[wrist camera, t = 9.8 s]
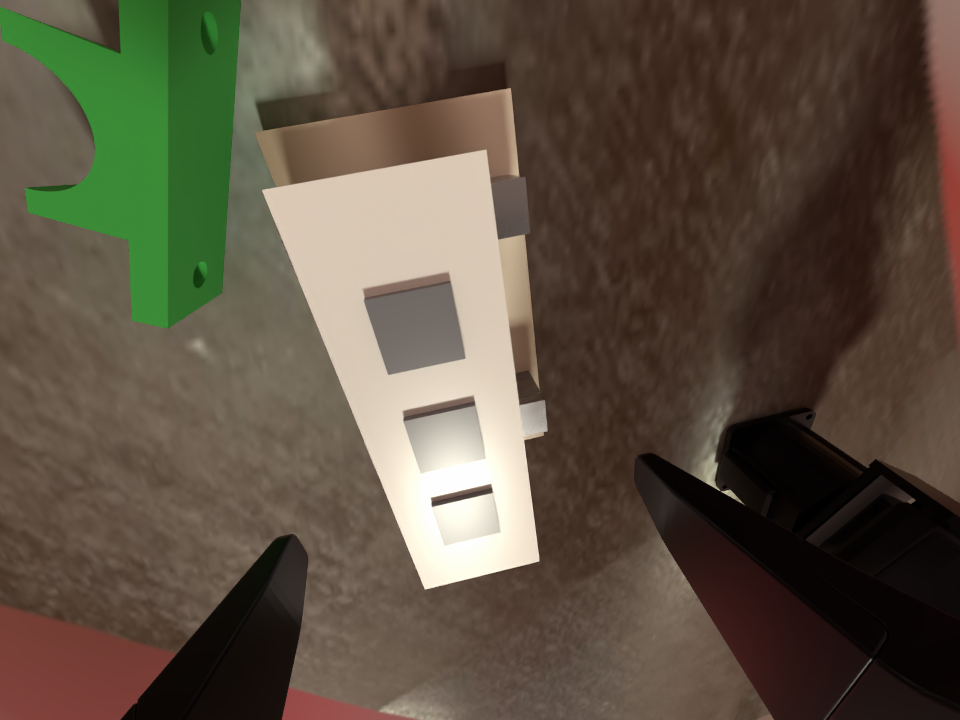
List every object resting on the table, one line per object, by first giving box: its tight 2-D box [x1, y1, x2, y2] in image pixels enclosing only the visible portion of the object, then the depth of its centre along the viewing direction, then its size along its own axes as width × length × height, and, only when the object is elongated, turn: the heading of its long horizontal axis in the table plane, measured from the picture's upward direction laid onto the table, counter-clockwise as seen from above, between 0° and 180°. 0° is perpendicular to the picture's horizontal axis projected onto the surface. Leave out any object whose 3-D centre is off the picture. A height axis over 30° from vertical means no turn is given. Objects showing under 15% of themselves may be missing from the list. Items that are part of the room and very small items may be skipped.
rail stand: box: [255, 88, 547, 469], centre depth 18 cm, size 10×18×4 cm, turn 9°
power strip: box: [262, 150, 539, 589], centre depth 13 cm, size 4×14×6 cm, turn 9°
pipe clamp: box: [0, 0, 241, 328], centre depth 13 cm, size 11×4×5 cm, turn 160°
